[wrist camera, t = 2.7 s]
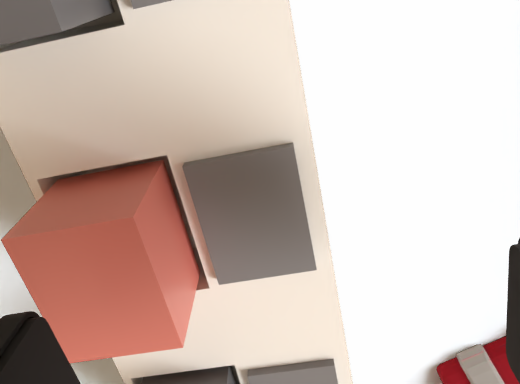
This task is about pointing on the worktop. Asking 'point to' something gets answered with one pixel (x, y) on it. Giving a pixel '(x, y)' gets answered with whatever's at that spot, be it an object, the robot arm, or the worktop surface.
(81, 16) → the button
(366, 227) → the worktop surface
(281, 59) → the button panel
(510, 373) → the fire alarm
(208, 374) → the button
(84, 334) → the button
